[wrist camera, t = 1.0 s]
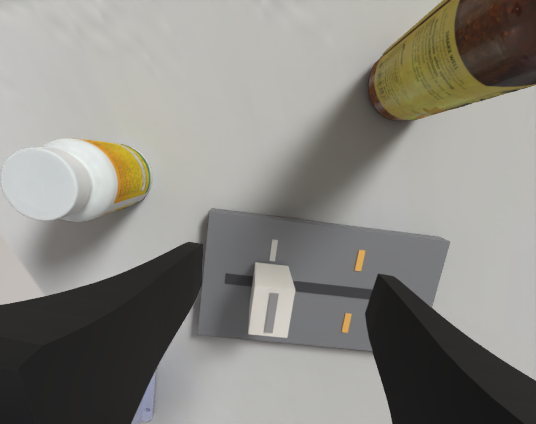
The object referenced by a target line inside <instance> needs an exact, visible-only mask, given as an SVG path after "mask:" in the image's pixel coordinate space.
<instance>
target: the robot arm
mask: <svg viewBox="0 0 536 424" xmlns="http://www.w3.org/2000/svg"><path fill="white" fill-rule="evenodd" d="M202 257H203V244H199V243H193V242H187V243H185V244H183V245H180V246H178V247H176V248H174V249H173V250H171V251H169V252H167V253H165V254H163V255H161V256H159V257H157V258H155V259H153V260H150V261H148V262H146V263H144V264H142V265H139V266H137V267H135V268H133V269H130V270H128V271H126V272H123V273H121V274H118V275H116V276H113V277H110V278H107V279H105V280H102V281H99V282H96V283H93V284H89V285H86V286H82V287H79V288H75V289H72V290H68V291H65V292H61V293H57V294H53V295H49V296H44V297H40V298H35V299H31V300H26V301H21V302H15V303H10V304H4V305H0V424H140V422H141V421H150V420H151V419H152V417H153V408H154V393H155V378H156V368H157V366H158V364H159V362H160V360H161V359H162V357H163V355H164V353H165V351H166V350H167V348H168V346H169V345H170V343H171V341H172V340H173V338H174V336H175V335H176V333H177V331H178V330H179V328H180V326H181V325H182V323H183V321H184V320H185V318H186V316H187V314H188V313H189V311H190V309H191V308H192V306H193V304H194V301H195V299H196V297H197V294H198V292H199V290H200V287H201V285H202ZM365 318H366V325H367V331H368V337H369V341H370V344H371V348H372V351H373V354H374V358H375V361H376V364H377V368H378V371H379V374H380V377H381V381H382V384H383V387H384V391H385V394H386V397H387V401H388V405H389V409H390V413H391V418H392V423H393V424H536V381H535V380H534V379H532V378H530V377H529V376H527V375H525V374H524V373H522V372H520V371H519V370H517V369H515V368H514V367H512V366H511V365H509V364H507V363H506V362H504V361H503V360H501V359H500V358H498V357H497V356H495V355H494V354H492V353H491V352H489V351H488V350H486V349H485V348H483V347H482V346H481V345H479V344H478V343H476V342H475V341H473V340H472V339H471V338H469V337H468V336H466V335H465V334H464V333H462V332H461V331H460V330H459V329H457V328H456V327H455V326H453V325H452V324H451V323H450V322H448V321H447V320H446V319H445V318H443V317H442V316H441V315H440V314H438V313H437V312H436V311H435V310H434V309H432V308H431V307H430V306H429V305H428V304H427V303H425V302H424V301H423V300H422V299H421V298H420V297H418V296H417V295H416V294H415V293H414V292H413V291H411V290H410V289H409V288H408V287H407V286H406V285H404V284H403V283H402V282H401V281H400V280H398V279H397V278H396V277H394V276H390V275H384V274H378V275H377V278H376V281H375V284H374V287H373V290H372V293H371V296H370V299H369V302H368V305H367V309H366V312H365ZM148 408H149V409H148Z"/></svg>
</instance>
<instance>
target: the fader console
mask: <svg viewBox="0 0 536 424" xmlns="http://www.w3.org/2000/svg"><path fill="white" fill-rule="evenodd" d="M449 244H450V241H447V240H445V239H443V238H441V237H436V236H428V235H420V234H412V233H404V232H396V231H388V230H380V229H372V228H364V227H356V226H348V225H340V224H332V223H325V222H317V221H309V220H301V219H293V218H285V217H277V216H269V215H261V214H253V213H245V212H237V211H229V210H221V209H213V208H212V209H211V210H210V211H209V221H208V231H207V241H206V252H205V262H204V272H203V283H202V293H201V303H200V313H199V324H198V334H197V335H207V336H217V337H228V338H239V339H249V340H260V341H270V342H281V343H292V344H302V345H313V346H323V347H334V348H345V349H355V350H366V351H372V348H371V344H370V341H369V337H368V331H367V325H366V318H365V312H366V309H367V305H368V302H369V299H370V296H371V293H372V290H373V287H374V284H375V281H376V278H377V275H378V274H384V275H390V276H394V277H396V278H397V279H398V280H400V281H401V282H402V283H403V284H404V285H406V286H407V287H408V288H409V289H410V290H411V291H413V292H414V293H415V294H416V295H417V296H418V297H420V298H421V299H422V300H423V301H424V302H425V303H427V304H428V305H429V306H430V307H431V308H432V305H433V301H434V298H435V294H436V291H437V287H438V283H439V280H440V276H441V273H442V269H443V266H444V262H445V258H446V255H447V251H448V248H449ZM255 262H258V263H267V264H276V265H284V266H289V270H290V273H291V277H292V280H293V283H294V287H295V296H294V301H293V307H292V313H291V319H290V325H289V331H288V337H287V338H282V337H272V336H261V335H251V334H248V329H249V308H250V297H251V290H252V283H253V275H254V268H255Z"/></svg>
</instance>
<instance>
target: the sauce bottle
mask: <svg viewBox="0 0 536 424" xmlns="http://www.w3.org/2000/svg"><path fill="white" fill-rule="evenodd" d="M534 85H536V0H443V1H442V2H441V3H439V4H438V5H437V6H436V7H435V8H434V9H433V10H431V11H430V12H429V13H428V14H427V15H426V16H424V17H423V18H422V19H421V20H420V21H419V22H418V23H417V24H415V25H414V26H413V27H412V28H411V29H410V30H409V31H407V32H406V33H405V34H404V35H403V36H402V37H401V38H399V39H398V40H397V41H396V42H395V43H394V44H393V45H391V46H390V47H389V48H388V49H387V50H386V51H385V52H384V53H383V56H382V57H381V58H380V59H379V60H378V61H377V62H376V63H375V65H374V66H373V69H372V71H371V74H370V78H369V96H370V100H371V102H372V104H373V106H374V107H375V108H376V110H377V111H378V112H379V113H380V114H382V115H383V116H384V117H386V118H388V119H391V120H417V119H420V118H424V117H427V116H430V115H434V114H437V113H441V112H444V111H447V110H451V109H454V108H459V107H463V106H466V105H468V104H472V103H475V102H479V101H483V100H486V99H490V98H493V97H496V96H499V95H503V94H506V93H510V92H514V91H517V90H520V89H524V88H527V87H531V86H534Z"/></svg>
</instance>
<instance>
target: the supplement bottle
mask: <svg viewBox="0 0 536 424" xmlns="http://www.w3.org/2000/svg"><path fill="white" fill-rule="evenodd" d="M0 180H1V187H2V191H3V193H4V195H5V197H6V199H7V200H8V202H9V203H10V204H11V205H12V207H14V208H15V209H16V210H17V211H18V212H19V213H21V214H23V215H24V216H26V217H28V218H31V219H35V220H40V221H51V220H56V219H62V220H66V221H72V222H83V221H89V220H92V219H95V218H98V217H101V216H104V215H106V214H109V213H112V212H114V211H117V210H120V209H123V208H126V207H128V206H131V205H133V204H135V203H137V202H139V201H141V200H142V199H143V198H144V197H145V196H146V195H147V193H148V192H149V190H150V188H151V183H152V172H151V168H150V165H149V163H148V161H147V160H146V158H145V157H144V156H143V155H142V154H141V153H140V152H139V151H138V150H136V149H135V148H133V147H130V146H127V145H123V144H116V143H108V142H100V141H91V140H81V139H74V138H65V139H58V140H54V141H51V142H48V143H46V144H45V145H43V146H42V147H33V148H25V149H21V150H19V151H17V152H15V153H13V154H12V155H11V156H10V157H9V158H8V159H7V160H6V161H5V163H4V165H3V167H2V170H1V175H0Z"/></svg>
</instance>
